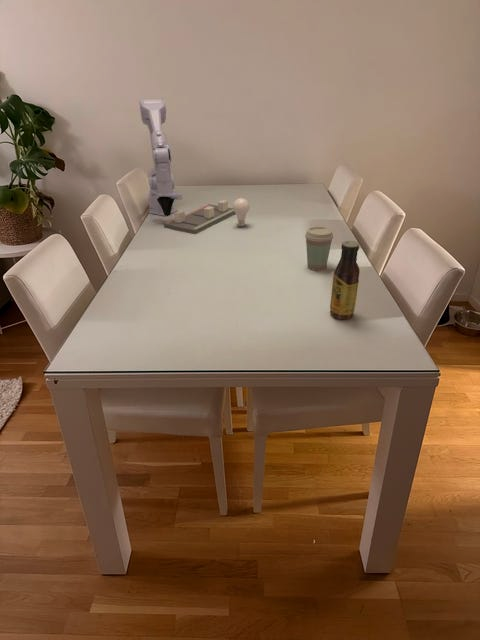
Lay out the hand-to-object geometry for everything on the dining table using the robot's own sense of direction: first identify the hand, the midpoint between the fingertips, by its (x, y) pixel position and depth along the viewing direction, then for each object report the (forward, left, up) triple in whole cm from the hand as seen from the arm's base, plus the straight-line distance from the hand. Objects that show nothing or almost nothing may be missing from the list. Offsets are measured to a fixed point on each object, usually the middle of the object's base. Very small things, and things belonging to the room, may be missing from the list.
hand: (167, 215), depth 184 cm
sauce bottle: (+87, -35, -3) cm, 93 cm away
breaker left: (+13, +20, -1) cm, 24 cm away
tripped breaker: (+6, 0, -1) cm, 6 cm away
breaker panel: (+10, +10, -3) cm, 14 cm away
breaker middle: (+13, +10, -1) cm, 17 cm away
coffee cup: (+69, -10, -3) cm, 69 cm away
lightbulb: (+28, +11, -3) cm, 30 cm away
